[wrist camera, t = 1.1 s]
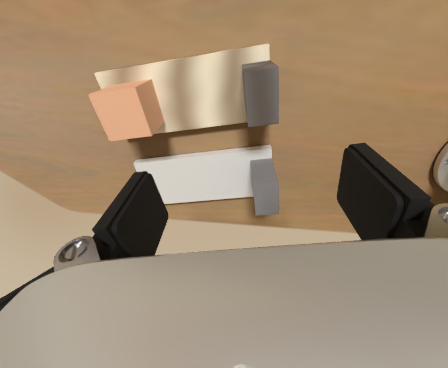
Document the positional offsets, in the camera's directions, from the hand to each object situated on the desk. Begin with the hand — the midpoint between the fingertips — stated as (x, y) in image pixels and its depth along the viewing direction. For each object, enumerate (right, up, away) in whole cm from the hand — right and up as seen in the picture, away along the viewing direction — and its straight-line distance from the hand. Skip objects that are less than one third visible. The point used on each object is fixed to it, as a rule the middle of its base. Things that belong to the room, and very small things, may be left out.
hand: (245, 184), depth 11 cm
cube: (-12, +10, +16) cm, 22 cm away
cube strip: (-6, +11, +16) cm, 21 cm away
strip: (-4, +1, +23) cm, 23 cm away
